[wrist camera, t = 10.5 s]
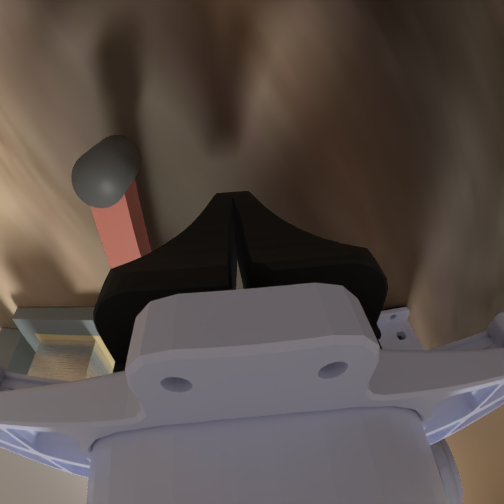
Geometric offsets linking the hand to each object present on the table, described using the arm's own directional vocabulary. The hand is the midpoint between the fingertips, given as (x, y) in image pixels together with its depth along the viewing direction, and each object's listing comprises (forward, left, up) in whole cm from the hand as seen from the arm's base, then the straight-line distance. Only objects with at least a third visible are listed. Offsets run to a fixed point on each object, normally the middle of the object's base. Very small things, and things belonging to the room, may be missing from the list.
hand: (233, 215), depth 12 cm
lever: (+4, +3, 0) cm, 5 cm away
